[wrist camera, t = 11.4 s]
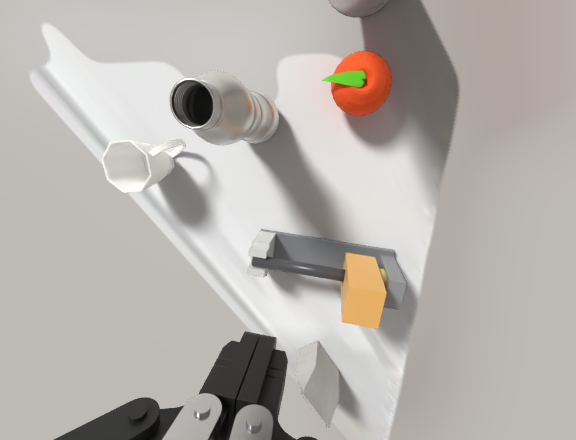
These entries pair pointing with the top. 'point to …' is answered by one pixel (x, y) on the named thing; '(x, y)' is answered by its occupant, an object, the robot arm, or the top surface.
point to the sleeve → (362, 291)
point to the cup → (139, 163)
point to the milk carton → (318, 380)
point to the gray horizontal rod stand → (321, 260)
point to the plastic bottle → (223, 109)
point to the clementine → (360, 83)
